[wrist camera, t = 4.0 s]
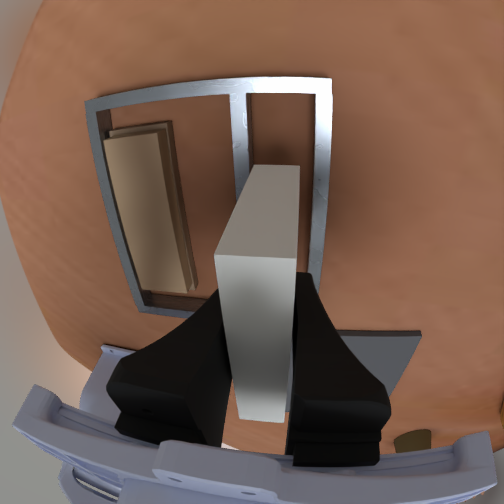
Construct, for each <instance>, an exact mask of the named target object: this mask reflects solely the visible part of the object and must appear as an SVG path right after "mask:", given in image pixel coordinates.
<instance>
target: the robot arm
mask: <svg viewBox="0 0 504 504" xmlns="http://www.w3.org/2000/svg"><path fill="white" fill-rule="evenodd" d="M101 349H102V351H103V353H102V355H101V357H100V359H99V361H98V362H97V364H96V366H95V368H94V370H93V372H92V373H91V375H90V377H89V379H88V381H87V383H86V385H85V387H84V389H83V391H82V394H81V398H80V410H79V409H77V408H74V407H72V406H69V405H67V404H64V403H62V401H61V400H60V399H59V397H58V396H56V394H54V393H53V392H51V391H49V390H47V389H45V388H43V387H40V386H38V385H36V384H35V385H34V386H33V387H32V389H31V391H30V393H29V394H28V396H27V398H26V399H25V402H24V403H23V405H22V407H21V409H20V411H19V412H18V414H17V416H16V418H15V420H14V422H13V424H12V426H13V427H14V428H15V429H17V430H18V431H19V432H20V433H21V434H22V435H24V436H25V437H26V438H27V439H29V440H30V441H31V442H32V443H34V444H35V445H36V446H38V447H39V448H40V449H42V450H43V451H45V452H47V453H49V454H50V455H52V456H54V457H56V458H58V459H60V460H62V461H63V463H62V469H61V471H60V473H59V476H58V479H59V486H60V488H61V489H62V491H63V493H64V494H65V496H66V497H67V498H68V500H69V501H70V503H71V504H456V503H459V502H463V501H465V500H467V499H470V498H472V497H474V496H476V495H478V494H480V493H482V492H484V491H485V490H487V489H489V488H491V487H493V486H495V485H496V484H497V477H496V470H495V464H494V458H493V452H492V447H491V441H490V437H489V432H488V431H483V432H479V433H474V434H470V435H466V436H463V437H461V438H460V439H458V440H457V441H456V442H455V443H454V444H453V445H450V446H445V447H439V448H433V449H427V450H420V451H412V452H404V453H394V454H383V455H380V449H379V442H380V441H381V429H382V428H383V427H384V425H385V424H386V423H387V421H388V420H389V418H390V416H391V405H390V400H389V397H388V393H387V390H386V388H385V385H384V384H383V383H382V382H381V381H379V380H378V379H377V378H376V377H375V376H374V375H373V374H372V373H371V372H370V371H369V370H368V369H367V368H366V367H365V366H364V365H363V364H362V363H361V362H360V361H359V360H358V358H357V357H356V356H355V355H354V354H353V352H352V351H351V350H350V349H349V348H348V346H347V345H346V344H345V342H344V341H343V339H342V338H341V337H340V335H339V334H338V332H337V330H336V329H335V327H334V326H333V324H332V322H331V320H330V318H329V317H328V315H327V313H326V311H325V309H324V307H323V304H322V302H321V300H320V298H319V295H318V293H317V290H316V288H315V285H314V281H313V277H312V274H311V273H303V272H296V282H295V298H294V314H293V328H292V358H293V379H292V391H291V401H290V411H289V421H288V430H287V438H286V447H285V455H278V454H267V453H257V452H248V451H240V450H232V449H226V448H221V444H222V437H223V430H224V423H225V417H226V410H227V404H228V398H229V393H230V387H231V382H232V372H231V366H230V360H229V354H228V348H227V342H226V336H225V329H224V323H223V316H222V309H221V303H220V296H219V289H217V290H216V291H215V292H214V293H213V294H212V295H211V296H210V298H209V299H208V300H207V301H206V302H205V303H204V304H203V305H202V306H201V307H200V308H199V309H198V310H197V311H196V312H195V313H193V314H192V315H191V316H190V317H189V318H188V319H187V320H185V321H184V322H183V323H182V324H181V325H179V326H178V327H177V328H175V329H174V330H172V331H171V332H170V333H168V334H167V335H165V336H164V337H162V338H161V339H159V340H157V341H156V342H154V343H152V344H150V345H148V346H147V347H145V348H143V349H141V350H139V351H131V350H126V349H122V348H117V347H113V346H108V345H102V346H101ZM73 467H74V469H73ZM75 477H76V478H78V479H80V480H82V481H84V482H86V483H88V484H90V485H92V486H94V487H96V488H98V489H100V490H102V491H105V492H107V493H109V494H111V495H114V496H116V497H118V500H115V499H113V498H110V497H108V496H106V495H104V494H102V493H99V492H97V491H95V490H93V489H91V488H89V487H87V486H85V485H83V484H81V483H80V482H79V481H78V480H77V479H76V478H75Z"/></svg>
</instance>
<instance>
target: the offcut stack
mask: <svg viewBox="0 0 504 504" xmlns="http://www.w3.org/2000/svg"><path fill="white" fill-rule="evenodd" d="M109 133H110V138H108V139H106V140H104V146H105V152H106V157H107V161H108V166H109V171H110V175H111V180H112V184H113V188H114V193H115V197H116V201H117V205H118V209H119V213H120V217H121V220H122V224H123V228H124V231H125V235H126V238H127V242H128V245H129V249H130V252H131V255H132V259H133V262H134V265H135V268H136V272H137V275H138V278H139V281H140V284H141V287H142V289H145V290H155V291H165V292H176V293H188V291H189V290H196V287H197V285H198V279H197V274H196V269H195V264H194V258H193V253H192V248H191V242H190V237H189V231H188V226H187V220H186V214H185V208H184V202H183V196H182V189H181V183H180V176H179V170H178V163H177V156H176V149H175V141H174V134H173V126H172V121H165V122H156V123H149V124H142V125H135V126H128V127H122V128H116V129H114V130H111V131H109Z"/></svg>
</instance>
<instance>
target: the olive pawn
mask: <svg viewBox="0 0 504 504" xmlns="http://www.w3.org/2000/svg"><path fill="white" fill-rule="evenodd" d="M394 445H395V450H396V453H404V452H412V451H420V450H427V449H431V431H430V430H416V431H412V432H408V433H405V434H403V435H401V436H399V437H397V438H396V439H395V440H394Z"/></svg>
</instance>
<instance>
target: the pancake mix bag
mask: <svg viewBox="0 0 504 504" xmlns="http://www.w3.org/2000/svg"><path fill="white" fill-rule="evenodd" d="M500 417H501V423H502V426H503V429H504V399H503V404H502V408H501V411H500Z"/></svg>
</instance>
